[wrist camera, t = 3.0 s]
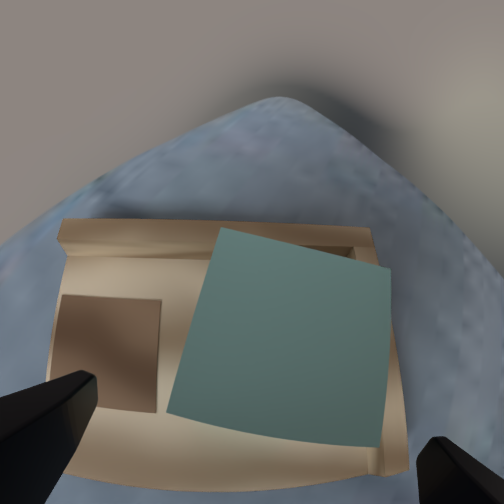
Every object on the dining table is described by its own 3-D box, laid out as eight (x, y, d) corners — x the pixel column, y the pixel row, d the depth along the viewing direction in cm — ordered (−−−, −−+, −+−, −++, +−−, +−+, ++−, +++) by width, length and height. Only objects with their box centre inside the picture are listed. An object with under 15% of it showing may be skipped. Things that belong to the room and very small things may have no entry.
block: (287, 439, 15) (379, 447, 6) (192, 420, 15) (166, 412, 6) (303, 352, 17) (390, 268, 9) (215, 333, 17) (221, 226, 9)
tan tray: (386, 467, 14) (409, 469, 12) (47, 466, 12) (26, 469, 10) (355, 248, 22) (369, 227, 20) (75, 240, 20) (63, 218, 18)
